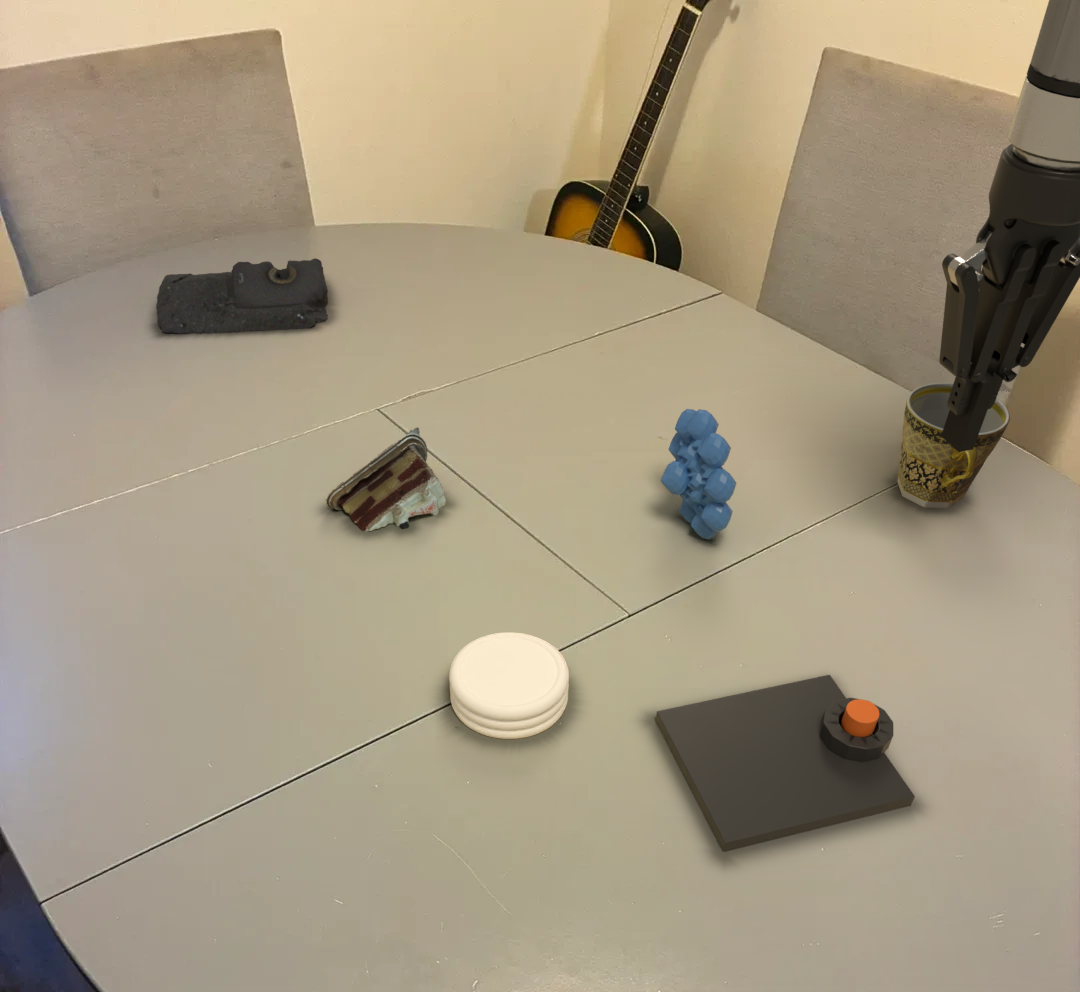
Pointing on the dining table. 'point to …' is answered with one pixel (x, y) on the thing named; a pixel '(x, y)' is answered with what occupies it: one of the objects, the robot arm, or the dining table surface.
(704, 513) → the grapes
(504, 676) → the coaster
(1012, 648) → the dining table surface
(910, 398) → the ceramic cup
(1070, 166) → the robot arm
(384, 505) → the chocolate cake
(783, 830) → the dark grey flat slab
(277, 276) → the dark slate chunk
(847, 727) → the button
